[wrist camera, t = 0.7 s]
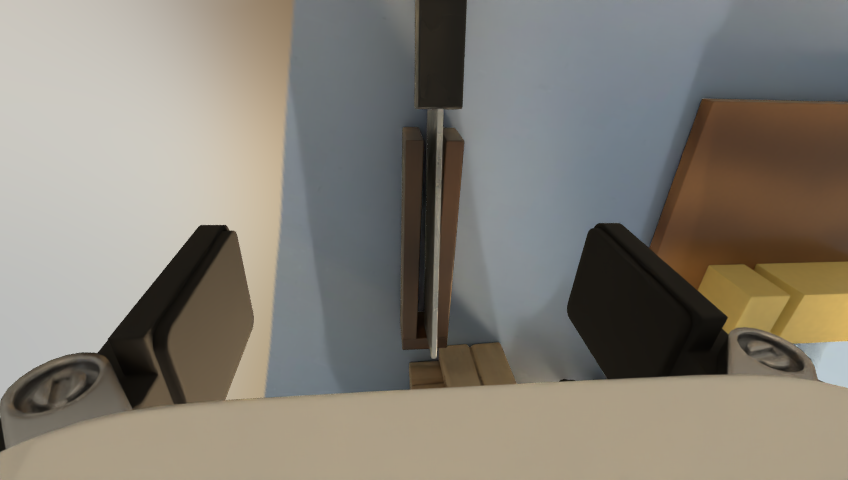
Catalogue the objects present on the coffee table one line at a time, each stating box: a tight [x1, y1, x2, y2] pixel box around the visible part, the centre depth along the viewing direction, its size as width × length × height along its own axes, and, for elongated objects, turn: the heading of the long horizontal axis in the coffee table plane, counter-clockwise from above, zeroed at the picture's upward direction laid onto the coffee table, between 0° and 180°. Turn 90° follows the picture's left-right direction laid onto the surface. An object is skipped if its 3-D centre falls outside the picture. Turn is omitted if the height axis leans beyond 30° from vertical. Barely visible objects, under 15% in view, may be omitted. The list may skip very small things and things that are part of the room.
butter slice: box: [698, 264, 790, 334], centre depth 30 cm, size 4×3×4 cm, turn 178°
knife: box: [414, 0, 467, 358], centre depth 22 cm, size 24×2×4 cm, turn 178°
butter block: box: [754, 262, 848, 344], centre depth 31 cm, size 4×9×4 cm, turn 88°
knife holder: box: [400, 127, 464, 350], centre depth 26 cm, size 15×3×3 cm, turn 178°
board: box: [649, 98, 848, 290], centre depth 30 cm, size 20×18×1 cm
